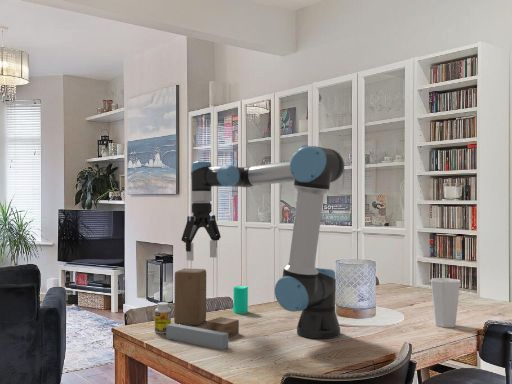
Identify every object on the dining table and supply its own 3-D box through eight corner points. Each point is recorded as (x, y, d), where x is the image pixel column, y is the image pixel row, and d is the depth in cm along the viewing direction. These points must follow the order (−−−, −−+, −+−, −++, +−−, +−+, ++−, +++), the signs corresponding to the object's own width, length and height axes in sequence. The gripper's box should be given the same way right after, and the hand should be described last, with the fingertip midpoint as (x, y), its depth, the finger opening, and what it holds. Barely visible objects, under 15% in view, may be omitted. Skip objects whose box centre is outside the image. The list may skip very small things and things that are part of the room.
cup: (433, 321, 212) (433, 277, 212) (461, 323, 207) (461, 279, 208) (429, 327, 202) (429, 281, 202) (458, 330, 197) (458, 283, 198)
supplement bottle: (151, 333, 191) (152, 304, 191) (159, 329, 196) (159, 301, 196) (166, 334, 189) (166, 305, 189) (173, 331, 194) (173, 302, 194)
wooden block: (199, 326, 202) (199, 272, 202) (173, 324, 204) (173, 271, 204) (206, 320, 211) (207, 268, 212) (182, 319, 213) (182, 268, 214)
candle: (250, 311, 229) (250, 282, 229) (243, 314, 224) (244, 284, 224) (237, 310, 232) (237, 281, 232) (230, 312, 226) (231, 283, 226)
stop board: (228, 347, 173) (228, 333, 173) (222, 349, 170) (222, 335, 170) (172, 336, 186) (172, 323, 186) (166, 338, 184) (166, 324, 184)
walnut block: (238, 334, 191) (238, 319, 191) (224, 339, 184) (225, 324, 184) (220, 331, 195) (220, 317, 196) (206, 335, 189) (206, 321, 189)
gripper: (214, 202, 218) (214, 255, 218) (171, 202, 198) (171, 261, 197) (229, 202, 214) (229, 256, 214) (187, 202, 194) (187, 262, 193)
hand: (201, 258), depth 205 cm, fingers open, 13 cm apart
